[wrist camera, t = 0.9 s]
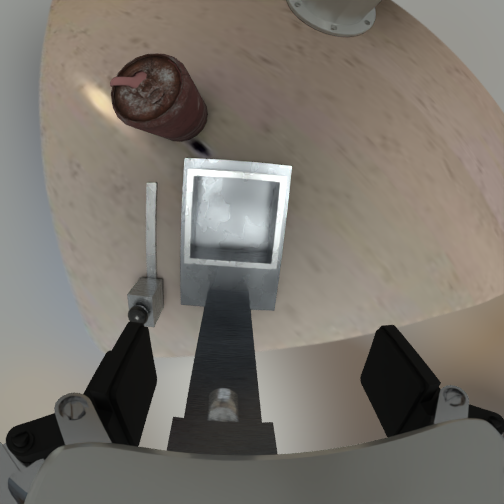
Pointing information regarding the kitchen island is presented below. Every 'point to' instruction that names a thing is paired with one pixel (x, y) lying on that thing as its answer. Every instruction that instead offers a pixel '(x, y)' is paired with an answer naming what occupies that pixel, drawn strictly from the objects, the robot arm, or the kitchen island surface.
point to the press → (226, 296)
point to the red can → (158, 97)
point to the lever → (146, 301)
